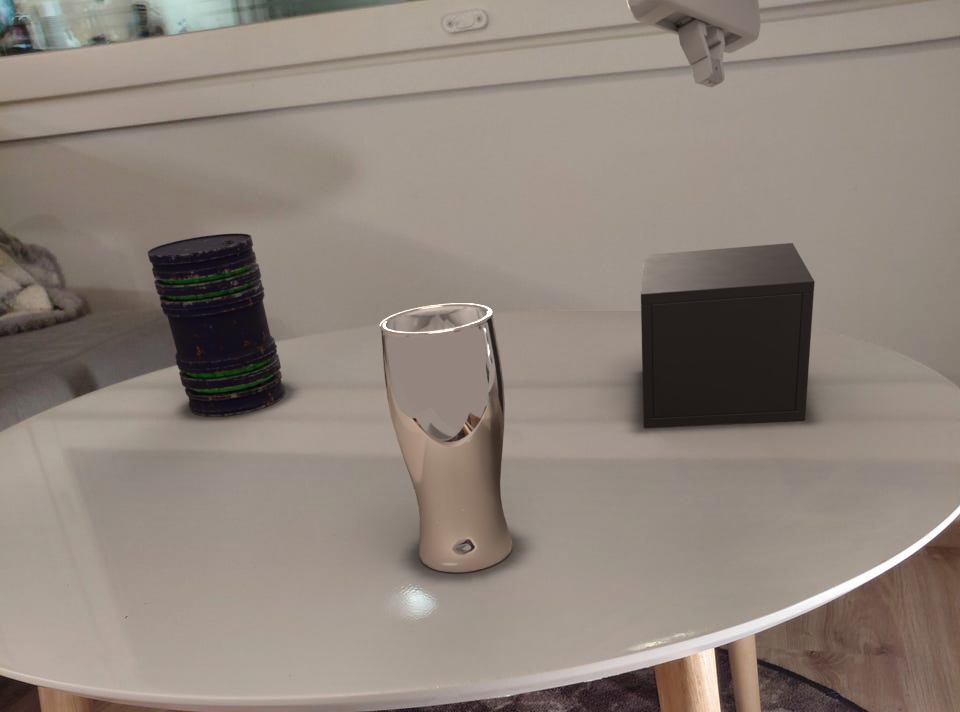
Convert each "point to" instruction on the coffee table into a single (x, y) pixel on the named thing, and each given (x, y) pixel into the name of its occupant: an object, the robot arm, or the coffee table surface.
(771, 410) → the cabinet
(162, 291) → the storage jar
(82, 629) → the coffee table surface
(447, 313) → the beer glass
